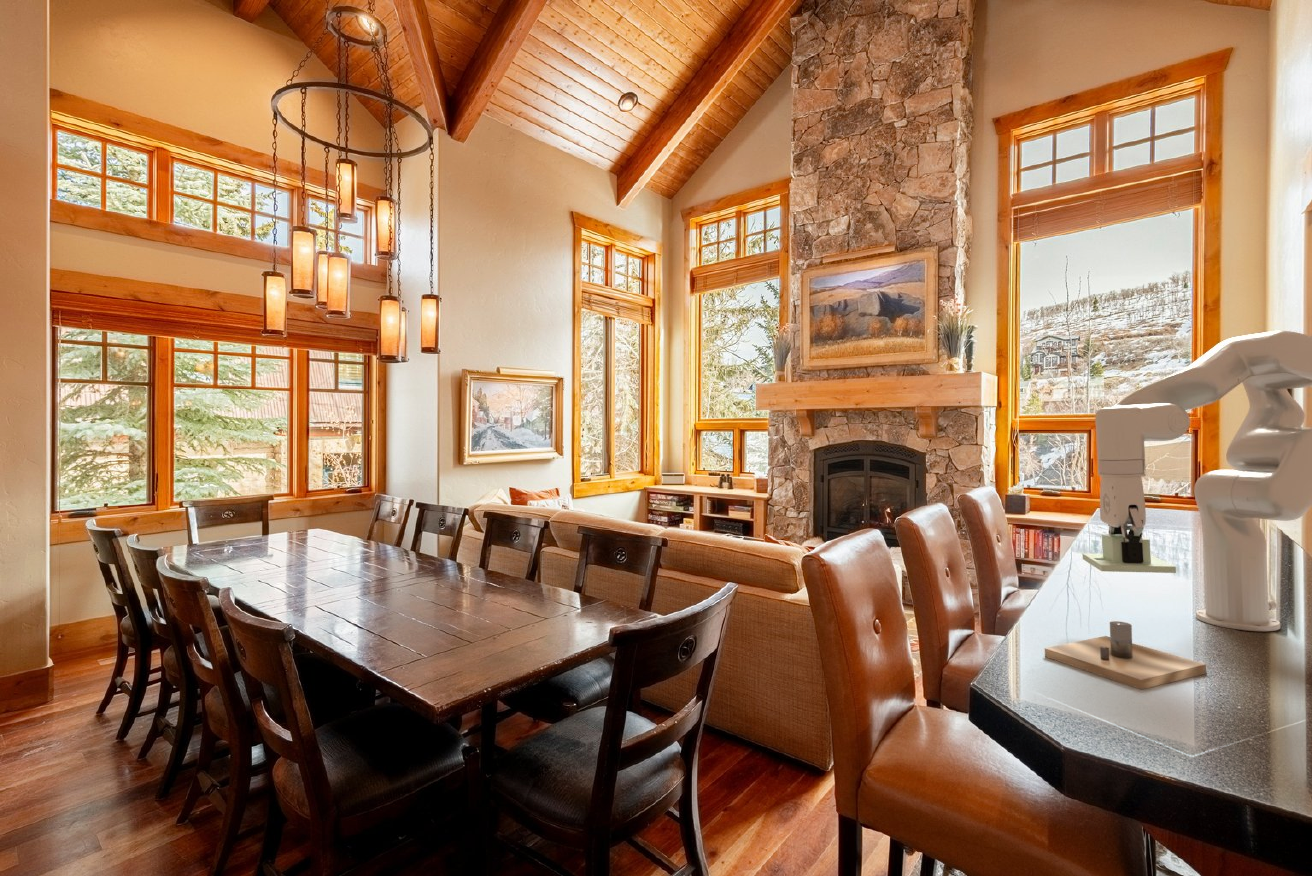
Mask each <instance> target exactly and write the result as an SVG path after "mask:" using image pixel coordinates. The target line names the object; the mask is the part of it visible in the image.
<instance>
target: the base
mask: <svg viewBox="0 0 1312 876" xmlns="http://www.w3.org/2000/svg"><path fill="white" fill-rule="evenodd" d="M1101 646H1103V647H1108V648H1109V661H1105V660H1101V658H1100V647H1101ZM1132 652H1133V658H1131V659H1123V658H1117V657H1114V656H1112V655H1111V644H1110V636H1108V635H1104V636H1098V637H1094V638H1090V639H1084V640H1079V641H1073V642H1069V643H1063V644H1059V645H1052V646H1049V647H1048V646H1047V647H1044V657H1046V658H1048V659H1051V660H1054V661H1057V662H1060V663H1063V664H1066V665H1069V666H1072V667H1073V668H1078V669H1080V670H1083V671H1087V672H1089V673H1092V674H1096V675H1098V676H1101V677H1103V678H1107V679H1110V680H1113V681H1116V682H1118V683H1122V684H1124V685H1127V686H1130V687H1133V688H1136V689H1139V690H1145V689H1149V688H1153V687H1156V686H1157V687H1158V686H1161V685H1165V684H1170V683H1172V682H1177V681H1181V680H1185V679H1188V678H1193V677H1197V676H1201V675H1205V674H1207V663H1203V662H1201V661H1200V662H1199V661H1196V660H1193V659H1190V658H1185V657H1182V656H1179V655H1174V654H1171V653H1168V652H1165V651H1161V650H1158V649H1154V648H1152V647H1146V646H1143V645H1139V644H1136V643H1133V642H1132Z"/></svg>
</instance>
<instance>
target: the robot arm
mask: <svg viewBox="0 0 1312 876" xmlns="http://www.w3.org/2000/svg"><path fill="white" fill-rule="evenodd" d="M1241 384H1242V386H1243V388H1244V390H1245V393H1246V396H1247V399H1248V402H1249V403H1248V404H1249V408H1248V411H1247V414H1246V416H1245V418H1244V420H1243V421H1242V423H1241V424H1240V426H1239V428H1238V430H1236V433H1235V435H1234V437H1233V438H1232V440H1231V442H1230V443H1229V446H1228V448H1227V449H1226V454H1225V458H1226V461H1227V464H1228V465H1229V466H1230V467H1232V468H1233V469H1217V470H1211V471H1208V472H1205V473H1204V474H1202V475H1201V476H1200V477H1198V478H1197V480H1196V482H1195V484H1194V489H1193V490H1194V491H1193V493H1194V498H1195V499H1194V500H1195V502H1196V507H1197V508H1198V513H1199V517H1200V522H1201V530H1202V531H1201V532H1202V534H1201V535H1202V551H1203V552H1202V554H1203V555H1202V557H1203V560H1202V561H1203V584H1204V585H1203V586H1204V608H1203V609H1199V610H1196V611H1195V618H1196V619H1198V620H1199V621H1201V622H1203V623H1206V624H1208V625H1212V626H1216V627H1220V628H1221V627H1222V628H1226V629H1231V630H1240V631H1247V632H1248V631H1249V632H1273V631H1278V630H1280V629H1281V622H1280V621H1279V620H1277V619H1276V618H1273V617H1270V612H1269V611H1273V610H1276V609H1277V607H1278V606H1277V603H1276V602H1275V601H1273V600H1271V599H1269V585H1268V583H1269V582H1268V581H1269V580H1268V557H1267V540H1266V536H1265V534H1264V531H1263V530H1262V529H1261V527H1260V525H1259V523H1257V521H1256V520H1255V519H1260V520H1270V521H1283V522H1286V521H1287V522H1288V521H1289V522H1290V521H1295V520H1297V519H1300V518H1302V517H1304V516H1305V515H1306V514H1307V512H1308V511H1309V510H1310V509H1311V507H1312V427H1308V426H1303V424H1304V422H1305V416H1306V415H1305V412H1304V410H1303V408H1302V406H1301V405H1300V404H1299V403H1298V402H1297V401H1296V400H1295V399H1294V397H1292V395H1291V394H1290V392H1289V391H1288V389H1300V388H1301V389H1303V388H1312V336H1311V335H1309V334H1304V333H1301V332H1297V331H1296V332H1295V331H1292V330H1291V331H1290V330H1289V331H1288V330H1273V331H1266V332H1261V333H1254V334H1253V333H1252V334H1246V335H1241V336H1240V335H1239V336H1235V337H1231V338H1227V339H1225V340H1223V341H1221V342H1219V343H1217V344H1216V345H1215V346H1213V347H1212V348H1211V349H1209V350H1208V351H1207V352H1205V353H1204V354H1203V355H1201V356H1200V357H1198V358H1197V359H1196V360H1195V361H1193V362H1192V363H1190V364H1189V365H1187V366H1186V367H1185V368H1184V369H1182V370H1180V371H1177V372H1176V373H1173V374H1171V375H1168V376H1164V377H1163V378H1161V379H1159V380H1156V381H1155V382H1153V383H1150V384H1147V385H1145V386H1143V387H1140V388H1137V389H1136V390H1135V391H1132V392H1131V393H1130V392H1129V393H1128V395H1125V396H1124V397H1123V398H1121V399H1120V400H1119V401H1117V402H1116V403H1115V404H1114V405H1112V406H1107V407H1101V408H1099V409H1098V410H1096V412H1095V415H1094V416H1095V417H1094V419H1095V421H1094V422H1095V434H1096V436H1095V437H1096V455H1097V477H1100V488H1099V518H1100V521H1102V522H1103V523H1104V524H1107V526H1108V534H1122V535H1123V541H1124V542H1121V545H1122V561H1123V562H1124V563H1143V545H1142V542H1143V539H1142V537H1143V531H1144V527H1145V526H1146V521H1147V520H1146V518H1147V517H1146V515H1147V514H1146V513H1147V512H1146V511H1147V510H1146V500H1145V492H1144V485H1143V479H1142V477H1145V476H1146V477H1147V473H1146V472H1147V470H1146V469H1147V468H1146V452H1145V448H1146V447H1145V442H1168V441H1173V440H1175V439H1179V438H1181V437H1183V436H1184V435H1185V434H1186V433H1187V431H1188V430H1189V428H1190V424H1191V419H1190V416H1189V414H1188V412H1187V411H1188V410H1194V409H1196V408H1200V407H1204V406H1207V405H1211V404H1214V403H1216V402H1217V401H1220V400H1221V399H1223V398H1224V397H1225V396H1226V395H1228V394H1229V393H1230V392H1231V391H1232V390H1234V389H1235V388H1236V387H1238V386H1239V385H1241Z"/></svg>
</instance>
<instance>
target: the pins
mask: <svg viewBox="0 0 1312 876" xmlns="http://www.w3.org/2000/svg"><path fill="white" fill-rule="evenodd" d="M1132 629H1133V628H1132V623H1128V622H1124V621H1118V620H1117V621H1116V620H1115V621H1113V620H1111V621H1109V635H1110V636H1109V637H1110V644H1111V655H1112V656H1114V657H1117V658H1123V659H1131V658H1133V652H1132V643H1133V633H1132V632H1133V631H1132ZM1100 658H1101V660H1105V661H1109V648H1108V647H1103V646H1101V647H1100Z"/></svg>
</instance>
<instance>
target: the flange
mask: <svg viewBox="0 0 1312 876" xmlns="http://www.w3.org/2000/svg"><path fill="white" fill-rule="evenodd" d="M1142 539H1143V542H1142V545H1143V563H1124V562H1123V561H1122V545H1121V542H1124V541H1123V535H1122V534H1109V533H1108V534H1107V533H1106V534H1103V533H1102V534H1101V545H1102V549H1101V550H1102V553H1085V552H1084V553H1081V554H1082V560H1084V561H1085V562H1087V563H1088V564H1090V565H1091V566H1093V567H1094V568H1095V569H1097V570H1099V571H1101V572H1114V573H1115V572H1116V573H1117V572H1119V573H1120V572H1121V573H1161V574H1163V573H1165V574H1177V568H1176V567H1177V566H1175V565H1173V564H1171V563H1169V562H1167V561H1165V560H1163V559H1160V558H1158V557H1156V556H1154V555H1152V554H1151V540H1150V539H1148V538H1147V537H1144V536H1142Z"/></svg>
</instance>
